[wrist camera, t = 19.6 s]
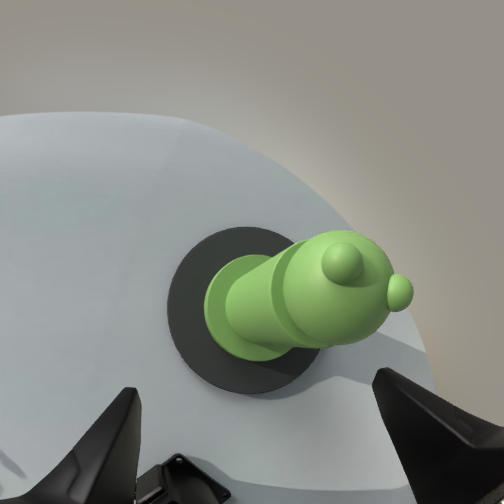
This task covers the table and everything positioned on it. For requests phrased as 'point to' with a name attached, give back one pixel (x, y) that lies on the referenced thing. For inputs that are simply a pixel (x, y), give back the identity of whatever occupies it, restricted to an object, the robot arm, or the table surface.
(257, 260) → the toy
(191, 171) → the table surface
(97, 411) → the table surface
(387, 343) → the table surface
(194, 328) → the mat
